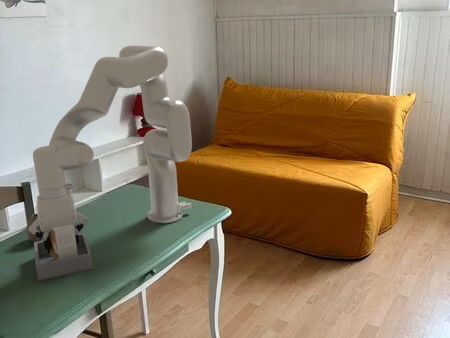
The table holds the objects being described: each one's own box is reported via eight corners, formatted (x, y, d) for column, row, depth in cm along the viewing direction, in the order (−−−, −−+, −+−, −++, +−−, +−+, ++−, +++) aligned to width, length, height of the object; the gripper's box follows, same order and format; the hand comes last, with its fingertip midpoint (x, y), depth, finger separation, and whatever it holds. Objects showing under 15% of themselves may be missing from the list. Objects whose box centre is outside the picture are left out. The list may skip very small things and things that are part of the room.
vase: (43, 245, 145) (39, 220, 142) (23, 244, 146) (19, 219, 143) (55, 235, 151) (51, 211, 148) (36, 234, 153) (32, 210, 150)
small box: (49, 254, 135) (43, 221, 132) (67, 247, 138) (63, 216, 135) (59, 264, 129) (54, 231, 126) (78, 258, 132) (73, 225, 129)
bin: (86, 247, 143) (84, 232, 142) (93, 269, 131) (91, 254, 129) (36, 257, 138) (34, 242, 136) (38, 281, 125) (35, 265, 124)
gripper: (84, 181, 133) (91, 236, 139) (19, 191, 127) (30, 248, 133) (87, 190, 127) (95, 247, 133) (19, 201, 121) (30, 261, 126)
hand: (62, 247), depth 133 cm, fingers closed on small box, 6 cm apart
